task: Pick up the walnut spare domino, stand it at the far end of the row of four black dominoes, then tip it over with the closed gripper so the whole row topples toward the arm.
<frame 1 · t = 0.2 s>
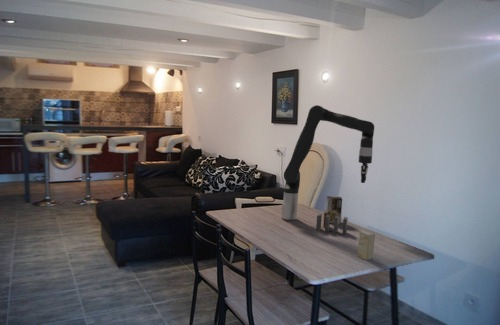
hand: (363, 181, 232), 28 cm above the table, fingers open, 8 cm apart
domino 1: (318, 229, 227), on the table
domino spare: (325, 226, 235), on the table
domino 3: (335, 232, 224), on the table
coffee box: (332, 222, 247), on the table
skincare box: (365, 257, 182), on the table
domino 2: (327, 231, 225), on the table
domino 4: (344, 233, 222), on the table
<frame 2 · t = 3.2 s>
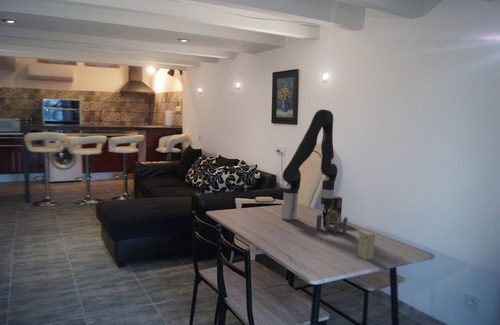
hand: (325, 223, 235), 2 cm above the table, fingers closed on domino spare, 5 cm apart
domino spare: (325, 226, 235), on the table, touching gripper
everything else where it was.
when the fingers open (2 cm above the table, at t = 8.7 s): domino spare stays where it is, on the table.
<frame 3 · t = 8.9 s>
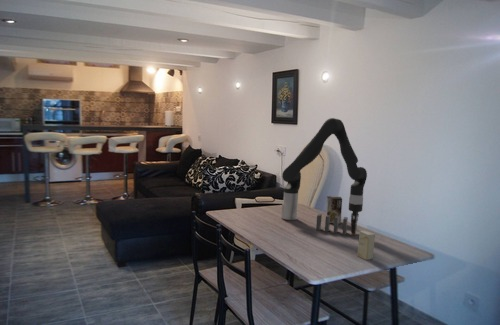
hand: (353, 231, 220), 2 cm above the table, fingers open, 6 cm apart
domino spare: (353, 234, 220), on the table
everything else where it was.
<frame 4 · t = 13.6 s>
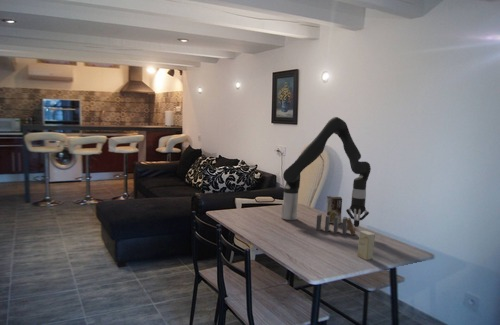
hand: (356, 226, 219), 5 cm above the table, fingers closed
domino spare: (353, 234, 220), on the table, tilted 23°, touching domino 4
domino 4: (344, 233, 222), on the table, touching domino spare
everything else where it was.
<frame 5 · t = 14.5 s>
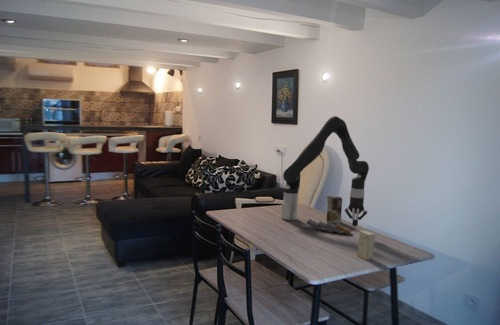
hand: (354, 226, 219), 5 cm above the table, fingers closed
domino 1: (316, 228, 227), on the table, tilted 90°
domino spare: (350, 232, 221), point 1 cm above the table, tilted 69°, touching domino 4
domino 3: (333, 230, 224), point 1 cm above the table, tilted 71°, touching domino 4
domino 2: (321, 228, 226), point 1 cm above the table, tilted 71°
domino 4: (341, 231, 222), point 1 cm above the table, tilted 69°, touching domino 3, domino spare
everything else where it was.
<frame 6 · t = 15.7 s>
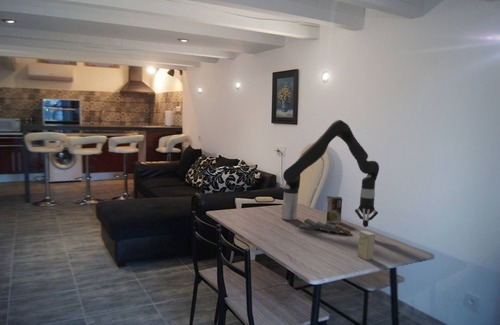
hand: (365, 226, 217), 5 cm above the table, fingers closed
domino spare: (350, 232, 221), point 1 cm above the table, tilted 70°
domino 3: (331, 230, 224), point 1 cm above the table, tilted 71°, touching domino 2, domino 4
domino 2: (319, 227, 227), point 1 cm above the table, tilted 72°, touching domino 3
domino 4: (339, 231, 222), point 1 cm above the table, tilted 70°, touching domino 3
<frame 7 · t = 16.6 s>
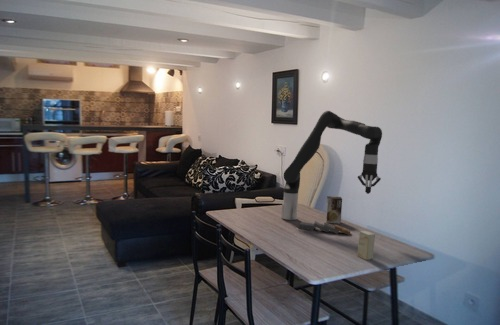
hand: (367, 193, 215), 24 cm above the table, fingers closed
domino 1: (313, 229, 227), on the table, tilted 90°, touching domino 2
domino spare: (349, 232, 221), point 1 cm above the table, tilted 72°, touching domino 4
domino 3: (328, 230, 224), point 1 cm above the table, tilted 70°, touching domino 2, domino 4
domino 2: (315, 226, 227), point 2 cm above the table, tilted 90°, touching domino 1, domino 3
domino 4: (338, 231, 222), point 1 cm above the table, tilted 70°, touching domino 3, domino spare
everything else where it was.
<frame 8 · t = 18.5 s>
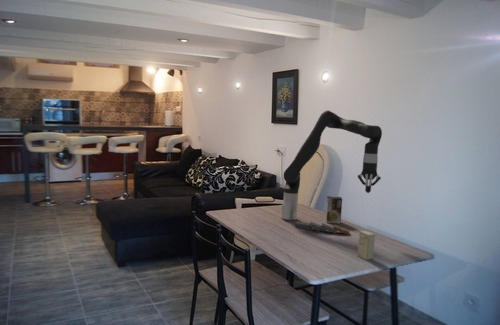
hand: (367, 192, 215), 25 cm above the table, fingers closed
domino 3: (325, 229, 224), point 1 cm above the table, tilted 73°, touching domino 4
domino 2: (310, 225, 228), point 2 cm above the table, tilted 91°, touching domino 1
domino 4: (336, 231, 222), point 1 cm above the table, tilted 73°, touching domino 3, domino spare
at the end: domino 1 tilted 90°; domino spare inside the target area (1.8 cm from its centre), point 0.9 cm above the table; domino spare tilted 74° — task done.
